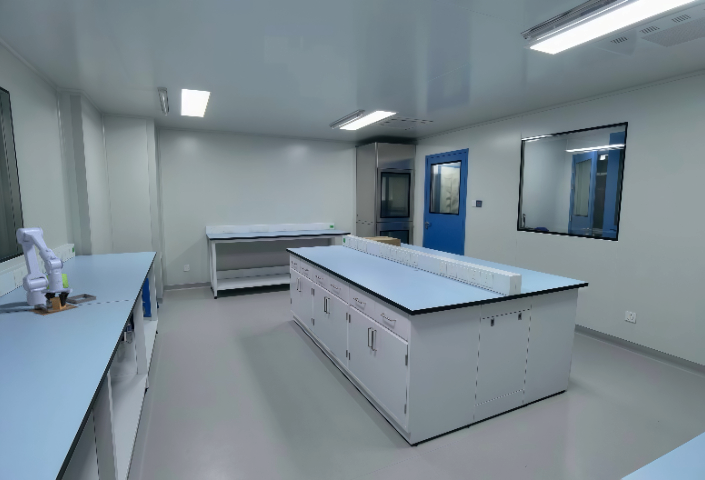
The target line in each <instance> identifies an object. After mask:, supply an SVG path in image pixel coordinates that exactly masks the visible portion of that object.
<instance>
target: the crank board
mask: <svg viewBox="0 0 705 480" xmlns="http://www.w3.org/2000/svg"><path fill="white" fill-rule="evenodd" d="M76 308H79V306H77V305H73V304H71V303H67V302H66V307H65V308H62V309H59V310H49V311H48V310H45V309H40V310H35V309H34V308H31V309H27V311H28V312H31V313H35V314H37V315H41V316H48V315H53V314H56V313H60V312H65V311H69V310H72V309H76Z"/></svg>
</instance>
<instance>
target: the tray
mask: <svg viewBox="0 0 705 480" xmlns="http://www.w3.org/2000/svg"><path fill="white" fill-rule="evenodd" d="M96 300H97V296H96V295H93V294H88V293H81V294H77V295H76V294H75V295H72V296H68V297H67V299H66V303H67V302H68V303H70V304H71V303H72V304H75V305H79V304H84V303H87V302H92V301H96Z"/></svg>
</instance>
